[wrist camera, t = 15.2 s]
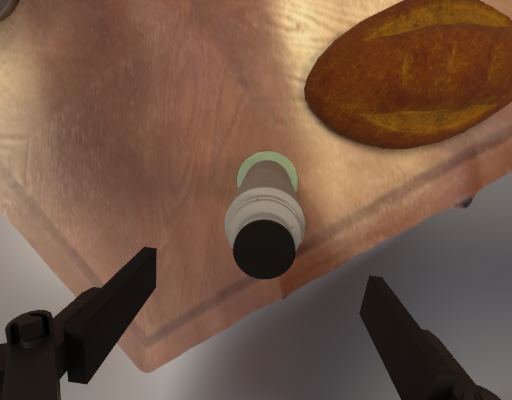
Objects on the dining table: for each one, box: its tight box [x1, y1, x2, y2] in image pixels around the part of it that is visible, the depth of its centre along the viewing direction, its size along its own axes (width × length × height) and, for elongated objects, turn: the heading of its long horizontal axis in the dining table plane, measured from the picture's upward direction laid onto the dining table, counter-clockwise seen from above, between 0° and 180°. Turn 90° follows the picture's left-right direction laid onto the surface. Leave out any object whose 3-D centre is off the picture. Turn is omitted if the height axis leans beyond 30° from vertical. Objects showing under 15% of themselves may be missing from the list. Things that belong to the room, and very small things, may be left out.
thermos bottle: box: [224, 160, 305, 279], centre depth 34 cm, size 8×8×28 cm
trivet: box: [237, 151, 298, 193], centre depth 48 cm, size 11×11×1 cm
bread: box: [304, 0, 512, 149], centre depth 37 cm, size 21×33×12 cm, turn 93°
